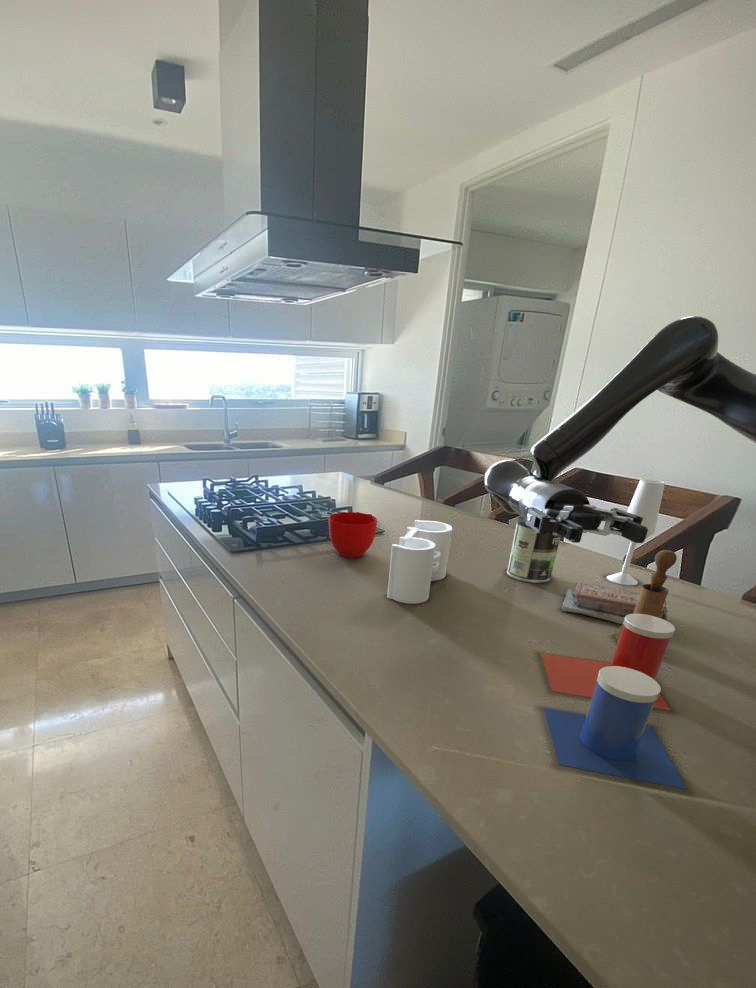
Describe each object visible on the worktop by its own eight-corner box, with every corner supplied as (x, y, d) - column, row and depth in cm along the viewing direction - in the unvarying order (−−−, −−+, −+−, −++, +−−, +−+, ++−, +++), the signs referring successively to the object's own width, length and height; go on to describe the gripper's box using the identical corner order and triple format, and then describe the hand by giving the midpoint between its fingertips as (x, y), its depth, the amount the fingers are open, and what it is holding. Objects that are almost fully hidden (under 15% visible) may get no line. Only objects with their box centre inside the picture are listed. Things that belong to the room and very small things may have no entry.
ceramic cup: (384, 546, 140) (387, 512, 136) (366, 564, 126) (368, 527, 122) (341, 540, 145) (343, 507, 141) (320, 557, 131) (321, 520, 126)
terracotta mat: (642, 669, 82) (642, 667, 82) (670, 711, 71) (670, 710, 71) (540, 654, 86) (540, 653, 86) (551, 692, 75) (552, 691, 75)
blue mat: (651, 727, 68) (651, 726, 68) (687, 791, 57) (687, 789, 57) (543, 709, 71) (543, 707, 71) (558, 766, 61) (558, 764, 61)
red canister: (646, 670, 81) (665, 616, 77) (661, 692, 75) (683, 635, 71) (602, 663, 83) (619, 611, 78) (613, 685, 77) (632, 629, 73)
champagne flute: (643, 581, 118) (675, 482, 108) (630, 587, 115) (662, 485, 105) (614, 573, 123) (643, 477, 114) (601, 578, 120) (629, 480, 110)
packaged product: (668, 593, 99) (671, 611, 92) (661, 615, 101) (663, 634, 94) (571, 575, 108) (566, 590, 100) (565, 595, 110) (560, 611, 102)
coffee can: (553, 573, 122) (566, 518, 117) (547, 586, 114) (561, 528, 109) (510, 565, 127) (521, 512, 122) (502, 577, 119) (513, 521, 113)
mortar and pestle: (619, 647, 88) (649, 553, 81) (613, 632, 94) (641, 542, 86) (661, 654, 86) (697, 559, 79) (653, 638, 92) (685, 547, 84)
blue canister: (627, 732, 66) (650, 670, 62) (643, 766, 61) (669, 700, 56) (574, 723, 68) (593, 662, 64) (585, 755, 62) (606, 690, 58)
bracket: (426, 607, 103) (433, 553, 98) (382, 598, 106) (387, 545, 101) (449, 570, 123) (456, 523, 118) (411, 563, 127) (416, 518, 122)
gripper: (512, 483, 77) (564, 507, 62) (601, 483, 77) (674, 507, 62) (504, 529, 80) (551, 562, 65) (589, 529, 80) (656, 563, 65)
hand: (611, 535), depth 64 cm, fingers open, 8 cm apart
